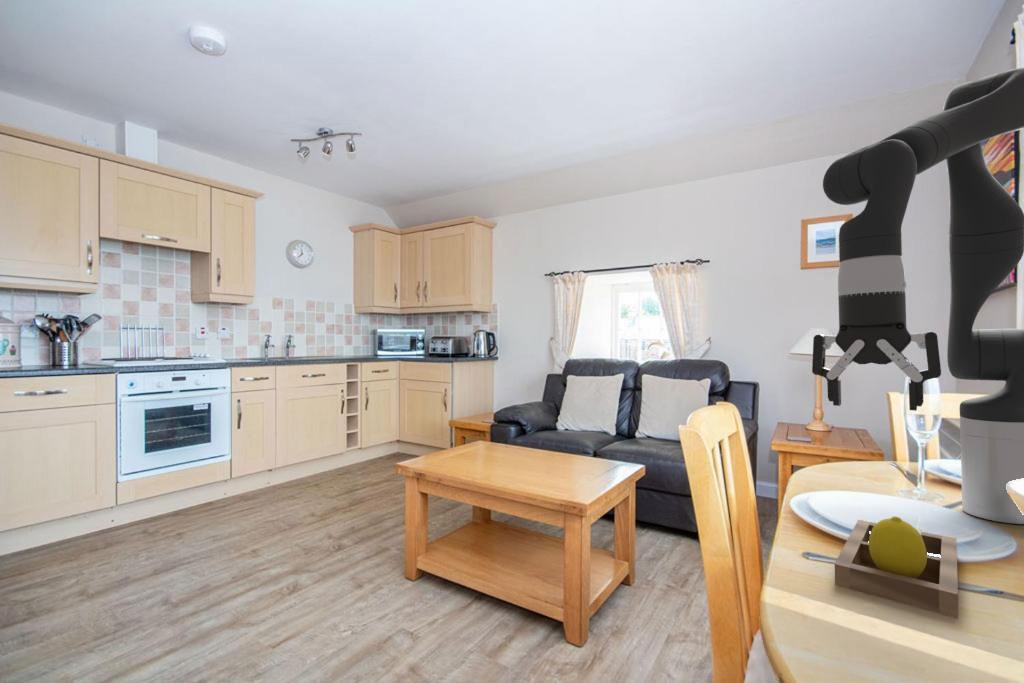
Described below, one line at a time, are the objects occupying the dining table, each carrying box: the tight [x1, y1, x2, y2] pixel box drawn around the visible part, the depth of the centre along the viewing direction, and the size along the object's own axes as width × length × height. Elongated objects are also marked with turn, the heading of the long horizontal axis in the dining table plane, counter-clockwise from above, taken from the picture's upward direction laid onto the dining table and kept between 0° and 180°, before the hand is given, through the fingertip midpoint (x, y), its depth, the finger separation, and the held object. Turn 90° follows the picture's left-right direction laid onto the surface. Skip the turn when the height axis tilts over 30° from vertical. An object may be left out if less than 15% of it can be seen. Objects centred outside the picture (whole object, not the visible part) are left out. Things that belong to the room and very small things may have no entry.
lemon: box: [869, 516, 927, 578], centre depth 59 cm, size 6×6×8 cm
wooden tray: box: [834, 519, 959, 619], centre depth 62 cm, size 20×11×4 cm, turn 137°
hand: (873, 407), depth 67 cm, fingers open, 8 cm apart
